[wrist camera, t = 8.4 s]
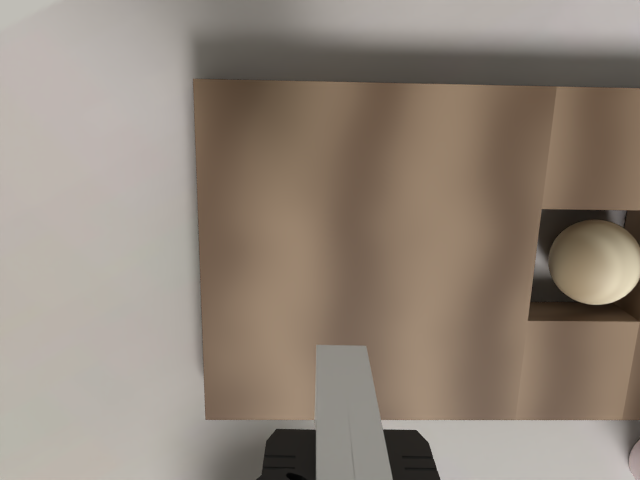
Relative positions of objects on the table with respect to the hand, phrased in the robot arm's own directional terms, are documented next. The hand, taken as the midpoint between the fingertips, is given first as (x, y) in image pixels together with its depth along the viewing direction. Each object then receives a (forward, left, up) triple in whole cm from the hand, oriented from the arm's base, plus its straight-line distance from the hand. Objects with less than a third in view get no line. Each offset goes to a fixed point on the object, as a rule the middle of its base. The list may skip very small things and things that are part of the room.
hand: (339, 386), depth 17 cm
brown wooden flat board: (-6, -1, -12) cm, 13 cm away
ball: (-13, -1, -10) cm, 16 cm away
